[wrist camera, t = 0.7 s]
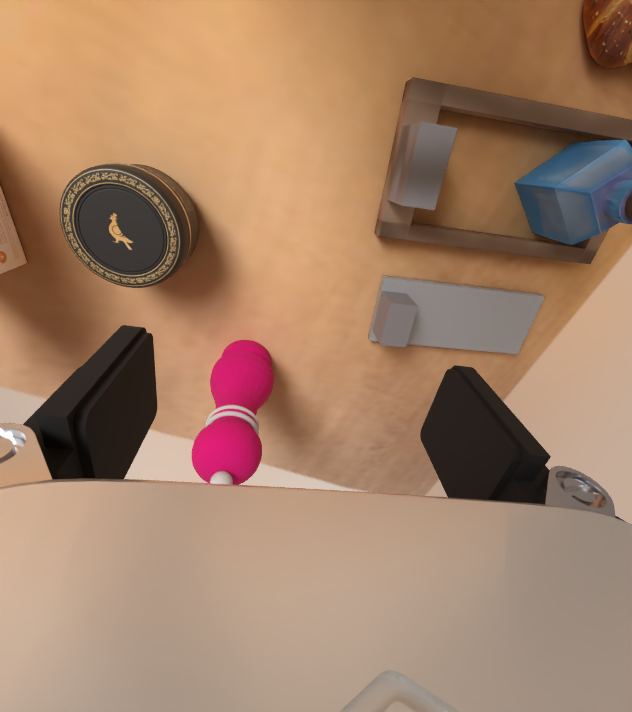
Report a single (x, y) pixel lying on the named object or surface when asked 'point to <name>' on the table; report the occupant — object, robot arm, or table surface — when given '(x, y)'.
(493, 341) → the grey l-shaped piece
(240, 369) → the pepper mill
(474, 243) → the rectangular wooden frame
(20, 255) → the coffeecake box
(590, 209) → the perfume bottle
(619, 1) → the pretzel
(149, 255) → the jar
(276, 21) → the table surface
